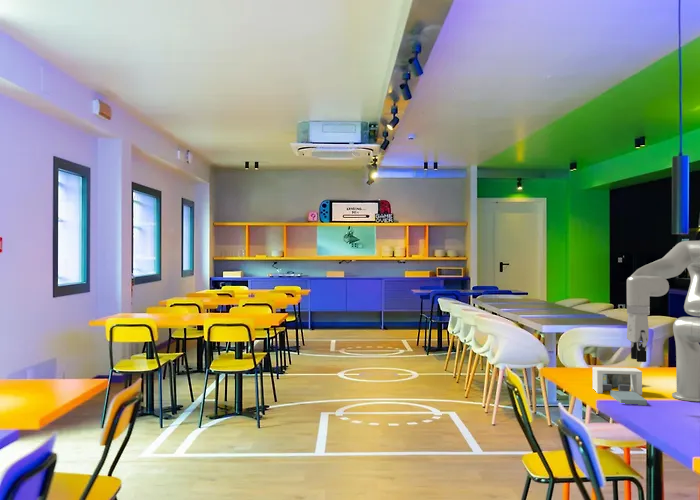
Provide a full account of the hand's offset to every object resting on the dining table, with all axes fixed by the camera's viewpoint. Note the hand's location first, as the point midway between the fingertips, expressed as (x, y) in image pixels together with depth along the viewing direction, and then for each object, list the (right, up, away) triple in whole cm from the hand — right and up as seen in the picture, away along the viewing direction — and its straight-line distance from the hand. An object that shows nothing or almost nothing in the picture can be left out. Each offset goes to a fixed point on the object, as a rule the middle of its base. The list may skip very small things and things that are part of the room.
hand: (638, 359), depth 218 cm
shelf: (+4, -18, +28) cm, 33 cm away
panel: (+2, -18, +13) cm, 23 cm away
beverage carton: (+10, -19, +42) cm, 47 cm away
